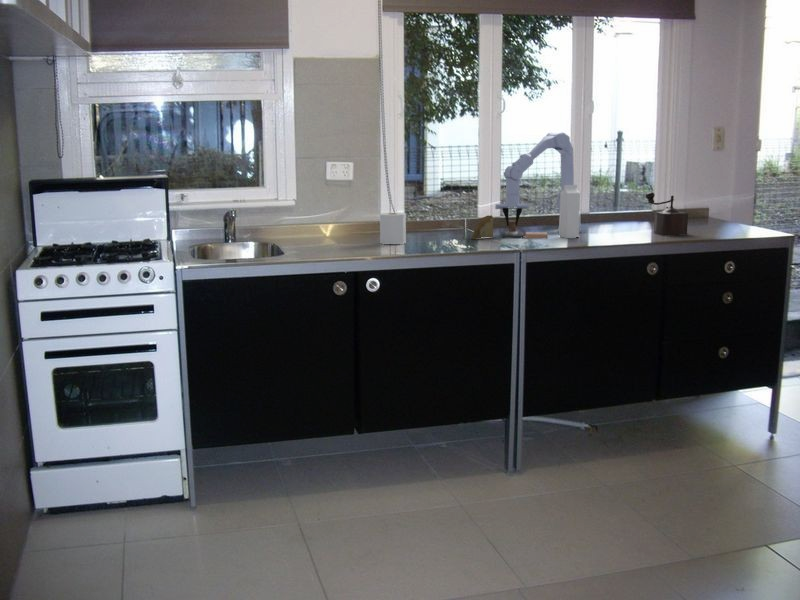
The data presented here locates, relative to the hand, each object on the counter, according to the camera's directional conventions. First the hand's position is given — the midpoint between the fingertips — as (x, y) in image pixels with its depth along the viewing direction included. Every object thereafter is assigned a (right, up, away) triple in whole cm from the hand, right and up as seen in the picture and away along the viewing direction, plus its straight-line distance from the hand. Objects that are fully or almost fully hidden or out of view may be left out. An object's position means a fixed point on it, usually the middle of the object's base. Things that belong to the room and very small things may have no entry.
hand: (512, 225), depth 375 cm
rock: (-14, -6, -9) cm, 18 cm away
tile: (+10, -4, -4) cm, 11 cm away
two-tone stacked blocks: (-1, -4, -3) cm, 5 cm away
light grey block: (-51, -9, -23) cm, 57 cm away
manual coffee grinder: (+66, -4, -1) cm, 66 cm away
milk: (+23, -6, -9) cm, 25 cm away
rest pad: (0, -5, -3) cm, 6 cm away
